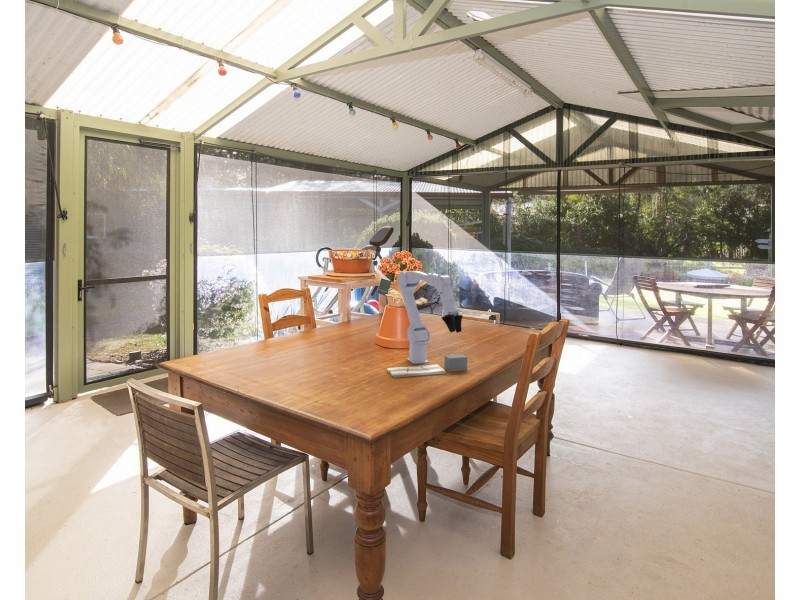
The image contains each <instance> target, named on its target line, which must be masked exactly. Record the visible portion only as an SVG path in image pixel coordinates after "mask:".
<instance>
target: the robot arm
mask: <svg viewBox="0 0 800 600" xmlns="http://www.w3.org/2000/svg"><path fill="white" fill-rule="evenodd" d="M397 282H398V286H399V288H400V292H401V295H402V299H403V304H404V306H405V310H406V313H407V318H408V321H409V326H408V328H406V332H407V333H406V334H407V341H408V342H409V348H408V351H409V353H408V356H409V357H407V360H408V361H409V362H410V363H412V364H414V365H415V364H427V363H428V364H429V363H430V361H429V360H427V344H428V342H429V341H430V339H431V334H430V331H429V329H428V327H427V325H426V324H424V323H423V322H422V320H421V317H420V314H419V310H418V307H417V303H416V299H415V296H414V290H415V289H416V288H417V287H418V285H419V283H420V282H425V284H427V285H429V286H431V287H434V288H435V289H436V291H437V293H438V294H439V297H440V301H441V305H442V309H443V311H441V312H442V315H443V316H441V320H442V321H443V322H444V323H445V325H446V327H447V329H448V331H449V333H453V332H454V333H455V332H456V333H461V332H462V321H463V315H462V314H460V311H461V310H460V309H459V308H457V304H456V300H455V297H454V292H453V289H452V286H453V282H454V281H453V278H452V277H451V275H449V274H445V275H442V273H436V271H430V272H428V273H426V272H423V271H420V270H412V271H411V270H409V271H400V272H399V274H398V276H397Z"/></svg>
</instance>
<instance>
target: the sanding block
mask: <svg viewBox="0 0 800 600" xmlns="http://www.w3.org/2000/svg"><path fill="white" fill-rule="evenodd" d="M443 369H444V370H446V371H447V372H455V371H457V372H458V371H465V370H468V356H466V355H465V354H463V353H462V354H460V353H459V354H450V355H447V354H446V355H444V368H443Z"/></svg>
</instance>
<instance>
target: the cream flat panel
mask: <svg viewBox="0 0 800 600" xmlns="http://www.w3.org/2000/svg"><path fill="white" fill-rule="evenodd" d="M386 371H387V373H388V374H389V375H390V376H392V378H393V379H397V378H409V377H419V376H420V377H421V376H432V375H442V374H443V375H444V374H447V370H446V369H445V368H443V367H441V366H440V365H439V364H436V363H435V364H423V365H412V366H411V365H410V366H399V367H397V366H396V367H387V368H386Z"/></svg>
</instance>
